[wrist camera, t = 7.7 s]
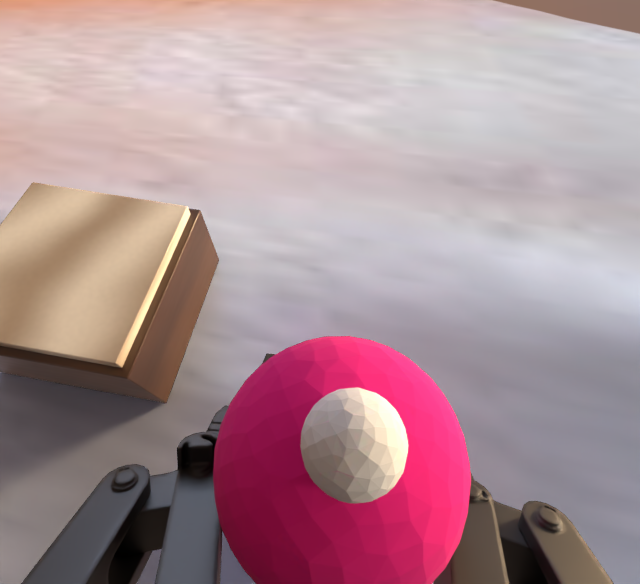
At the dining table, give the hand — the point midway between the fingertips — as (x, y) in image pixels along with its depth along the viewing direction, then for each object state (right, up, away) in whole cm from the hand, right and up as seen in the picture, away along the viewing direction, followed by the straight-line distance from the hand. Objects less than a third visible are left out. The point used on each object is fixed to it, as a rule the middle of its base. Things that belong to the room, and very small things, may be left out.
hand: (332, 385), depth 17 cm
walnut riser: (-16, +3, +11) cm, 19 cm away
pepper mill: (-1, -7, +6) cm, 9 cm away
